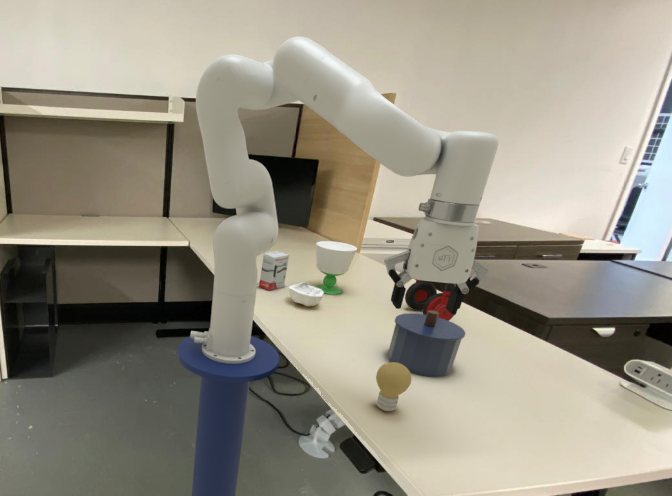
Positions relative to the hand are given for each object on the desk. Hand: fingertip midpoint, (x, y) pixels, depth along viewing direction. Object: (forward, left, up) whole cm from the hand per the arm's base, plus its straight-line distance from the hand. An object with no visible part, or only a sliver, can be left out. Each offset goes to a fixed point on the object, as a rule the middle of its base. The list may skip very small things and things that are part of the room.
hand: (423, 309), depth 84 cm
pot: (+13, +25, -22) cm, 35 cm away
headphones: (+26, +60, -22) cm, 69 cm away
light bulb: (-1, +1, -22) cm, 22 cm away
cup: (-2, +78, -22) cm, 81 cm away
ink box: (-22, +75, -22) cm, 81 cm away
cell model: (-12, +60, -22) cm, 65 cm away
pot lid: (+13, +25, -12) cm, 30 cm away
